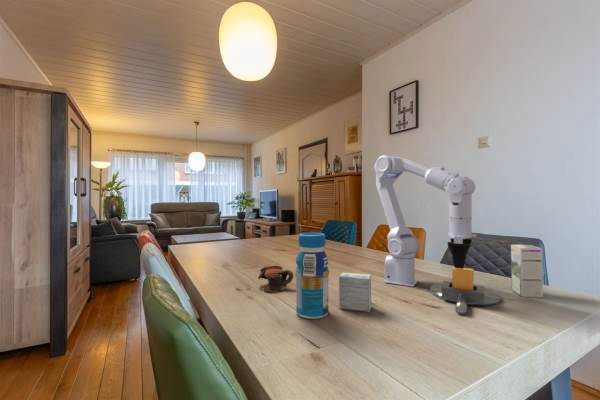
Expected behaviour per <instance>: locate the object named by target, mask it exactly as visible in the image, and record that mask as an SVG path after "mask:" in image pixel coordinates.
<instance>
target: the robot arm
mask: <svg viewBox="0 0 600 400" xmlns="http://www.w3.org/2000/svg"><path fill="white" fill-rule="evenodd" d="M373 167H374V171H375V185H376V189H377V192H378V195H379V198H380V202H381V205H382V207H383V211H384V215H385V218H386V221H387V223H388V227H389V230H390V231H389V232H388V234H387V235H386V239H387V250H388V251H389V255H386V257H385V261H384V283H386V284H394V285H400V286H406V287H415V285H416V284H417V283H418V281H419V280H418V279H417V278H415V277H416V253H417V252H418V251H419V248H420V244H419V243H420V242H419V240H418V239H417V237H416V236H414V233H413V230H411V229H410V228H409V227H407V224H406V221H405V219H404V216H403V212H402V209H401V207H400V203H399V201H398V197H397V194H396V192H395V187H394V183H395V182H396V181H397V180H398V179H399V178H400V176H402V175H403V173H404V172H405V173H407V172H408V173H410V174H414V175H416V176H419V177H421V178H424V179H425V182H426V184H428V185H430V186H432V187H434V188H437V189H439V190H441V191H444V192H445V193H446V194H447V195H448V233H447V236H448V237H450V241H447V246H448V248H449V250H450V253H451V257H452V262H453V267H455V268H461V269H463V268H465V263H466V261H467V260H466V259H467V255H468V251H469V250H470V248H471V243H472V241H473V240H472V239H471V238H477V234H476V233H472V214H473V213H472V211H473V210H472V208H473V206H472V205H473V204H472V197H473V196H472V195H473V194H474V192H475V190H476V183H475V181H474V180H473V179H472V178H469V177H468V176H462V177H461V176H459V175H460V173H458V172H454V173H453V172H451V171H448V170H445V167H443V166H440V165H438V166H434V167H431V168H429V167H427V166H424V165H422V164H420V163H418V162H415V161H413V160H411V159H408V158H403V157H400V156H398V157H397V156H390V155H389V156H388V155H385V154H383V155H381V156H379V157H378V158H377V160H376V162H375V164H374V166H373Z"/></svg>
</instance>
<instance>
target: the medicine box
mask: <svg viewBox="0 0 600 400" xmlns="http://www.w3.org/2000/svg"><path fill="white" fill-rule="evenodd" d="M338 280H339V281H338V283H339V284H338V286H339V287H338V289H339V290H338V297H339V298H338V300H339V301H338V303H339V305H338V307H339V309H340V310H350V311H360V312H365V313H369V312H371V309H372V275H371V274H369V273H367V274H366V273H356V272H342V273H341V274H340V275H339V277H338Z"/></svg>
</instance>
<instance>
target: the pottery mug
mask: <svg viewBox="0 0 600 400" xmlns="http://www.w3.org/2000/svg"><path fill="white" fill-rule="evenodd" d="M287 277H288V278H287ZM260 279H264V280H267V282H268V283H266V284H263V286H262V288H263V291H264V293H267V292H268V293H269V292H282V291H283V288H286V287H287V285H290V283H291V282H292V281H293V279H294V275H293V271H291V270H289V269H286V270H283V267H282V266H281V265H269V266H264V267H261V268H260V273H259V275H258V280H260Z"/></svg>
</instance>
